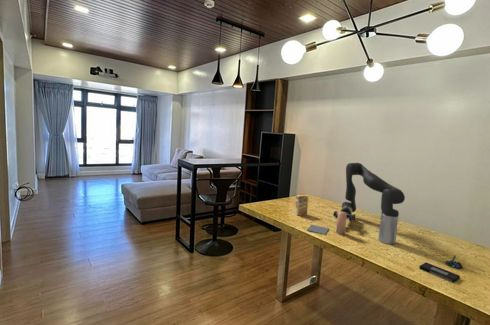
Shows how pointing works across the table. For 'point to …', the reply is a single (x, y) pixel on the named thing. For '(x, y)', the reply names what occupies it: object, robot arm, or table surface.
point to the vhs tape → (439, 272)
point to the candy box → (301, 205)
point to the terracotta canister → (341, 223)
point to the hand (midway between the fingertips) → (343, 218)
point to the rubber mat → (318, 229)
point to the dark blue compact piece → (454, 263)
